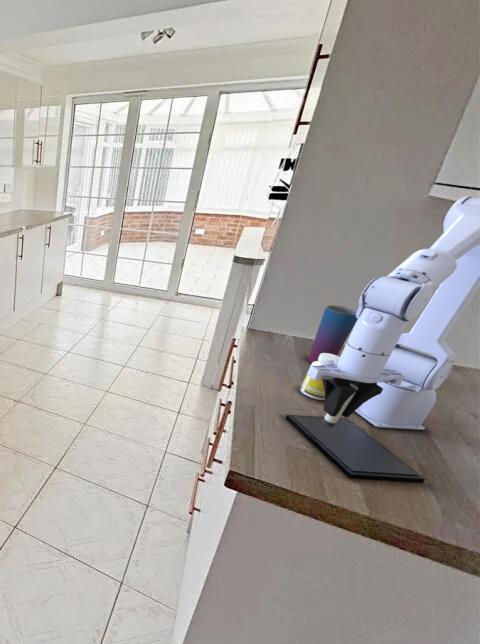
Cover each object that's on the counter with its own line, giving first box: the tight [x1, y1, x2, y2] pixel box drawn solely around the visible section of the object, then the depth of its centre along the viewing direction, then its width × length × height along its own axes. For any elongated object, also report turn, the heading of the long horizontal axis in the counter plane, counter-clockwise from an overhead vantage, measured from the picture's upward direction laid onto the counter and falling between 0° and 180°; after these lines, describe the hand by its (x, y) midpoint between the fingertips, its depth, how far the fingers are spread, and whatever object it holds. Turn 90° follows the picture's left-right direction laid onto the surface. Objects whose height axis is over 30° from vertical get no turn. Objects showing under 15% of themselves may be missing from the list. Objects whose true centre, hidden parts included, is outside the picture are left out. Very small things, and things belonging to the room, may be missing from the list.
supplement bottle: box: [300, 353, 340, 401], centre depth 92 cm, size 5×5×10 cm
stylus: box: [322, 384, 358, 427], centre depth 75 cm, size 2×2×9 cm
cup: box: [307, 304, 358, 364], centre depth 106 cm, size 7×7×15 cm
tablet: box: [285, 414, 426, 484], centre depth 77 cm, size 12×17×1 cm
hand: (335, 413), depth 75 cm, fingers closed on stylus, 2 cm apart
